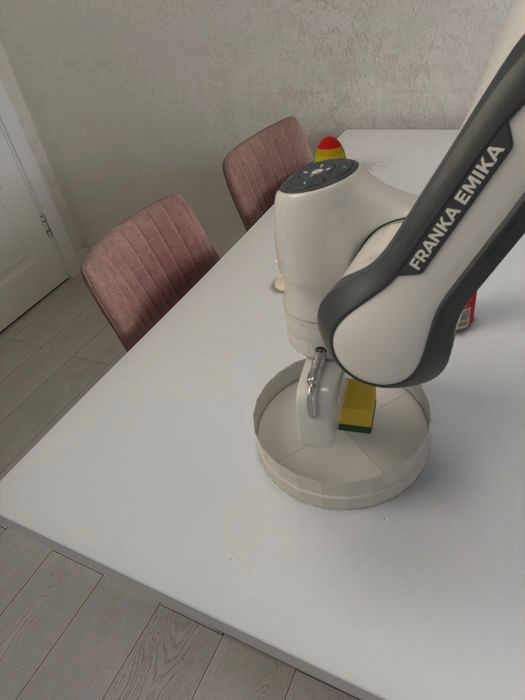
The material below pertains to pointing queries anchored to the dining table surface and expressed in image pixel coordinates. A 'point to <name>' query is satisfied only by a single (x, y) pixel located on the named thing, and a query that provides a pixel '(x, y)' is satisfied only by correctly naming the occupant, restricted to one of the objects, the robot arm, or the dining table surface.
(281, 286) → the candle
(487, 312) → the dining table surface
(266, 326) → the dining table surface
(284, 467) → the dish
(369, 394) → the sponge
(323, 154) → the decorative egg
